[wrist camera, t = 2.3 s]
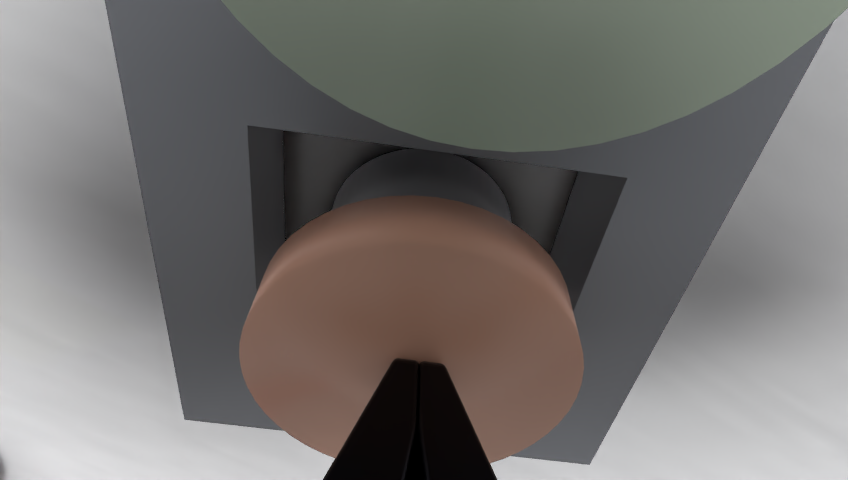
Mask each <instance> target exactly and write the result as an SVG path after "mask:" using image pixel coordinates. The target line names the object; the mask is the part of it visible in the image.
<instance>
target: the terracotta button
mask: <svg viewBox="0 0 848 480" xmlns="http://www.w3.org/2000/svg"><path fill="white" fill-rule="evenodd" d="M396 358H401V359H409V360H416V361H417V362H418V363H419V364H420V363H421V362H423V361H426V362H434V363H441V364H443V365H445V367H446V368H447V370H448V372H449V375H450V377H451V379H452V381H453V383H454V386H455V388H456V390H457V392H458V394H459V397H460V399H461V401H462V403H463V405H464V408H465V410H466V412H467V414H468V416H469V419H470V421H471V423H472V425H473V428H474V430H475V432H476V434H477V436H478V439H479V441H480V443H481V445H482V447H483V450H484V452H485V454H486V456H487V458H488V461H489V463H492V462H495V461H498V460H501V459H504V458H506V457H508V456H511V455H513V454H515V453H518V452H520V451H522V450H523V449H525V448H527V447H529V446H531V445H532V444H534V443H535V442H537V441H538V440H540V439H541V438H542V437H544V436H545V435H547V434H548V433H549V432H550V431H551V430H552V429H553V428H554V427H555V426H557V425H558V424H559V423H560V421H561V420H562V419H563V418H564V416H565V415H566V414H567V413H568V412H569V410H570V408H571V407H572V405H573V403H574V401H575V400H576V398H577V395H578V392H579V390H580V387H581V384H582V378H583V372H584V358H583V350H582V346H581V342H580V338H579V334H578V329H577V325H576V321H575V317H574V313H573V309H572V305H571V301H570V297H569V293H568V289H567V285H566V283H565V280H564V278H563V276H562V274H561V272H560V270H559V268H558V267H557V265H556V264H555V262H554V261H553V259H552V258H551V256H550V255H549V254H548V253H547V252H546V251H545V249H544V248H543V247H542V246H541V245H540V244H539V243H538V242H537V241H536V240H535V239H533V238H532V237H531V236H530V235H528V234H527V233H526V232H525V231H523V230H522V229H521V228H519V227H518V226H516V225H514V224H513V223H512V222H511V215H510V210H509V207H508V203H507V201H506V199H505V196H504V194H503V192H502V191H501V189H500V188H499V186H498V185H497V184H496V182H495V181H494V180H493V179H492V178H491V177H490V176H489V175H488V174H487V173H486V172H484V171H483V170H482V169H481V168H479V167H478V166H476V165H475V164H473V163H471V162H470V161H468V160H466V159H463V158H461V157H459V156H456V155H453V154H450V153H444V152H437V151H430V150H423V149H406V150H400V151H394V152H391V153H387V154H384V155H381V156H379V157H377V158H374V159H372V160H370V161H369V162H367V163H365V164H364V165H362V166H361V167H359V168H358V169H357V170H356V171H354V172H353V173H352V174H351V175H350V176H349V177H348V178H347V179H346V181H345V182H344V184H343V185H342V186H341V188H340V189H339V191H338V194H337V196H336V198H335V201H334V204H333V207H332V210H331V211H329V212H326V213H324V214H322V215H320V216H319V217H317V218H315V219H313V220H312V221H310V222H308V223H306V224H305V225H304V226H302V227H301V228H300V229H299V230H297V231H296V232H295V233H293V234H292V235H291V236H290V237H289V238H288V239H287V240H286V241H285V242H284V243H283V244H282V245H281V247H280V248H279V249H278V250H277V252H276V253H275V255H274V256H273V258H272V259H271V261H270V262H269V264H268V267H267V269H266V271H265V274H264V276H263V278H262V281H261V283H260V286H259V288H258V291H257V293H256V296H255V298H254V301H253V303H252V306H251V308H250V311H249V313H248V316H247V319H246V321H245V324H244V326H243V329H242V334H241V339H240V344H239V359H240V365H241V370H242V374H243V377H244V380H245V382H246V385H247V387H248V389H249V391H250V393H251V394H252V396H253V398H254V400H255V401H256V402H257V404H258V405H259V406H260V407H261V409H262V410H263V411H264V413H265V414H266V415H267V416H268V417H269V418H270V419H271V420H272V421H274V422H275V423H276V424H277V425H278V426H279V427H280V428H282V429H283V430H284V431H286V432H287V433H288V434H289V435H291V436H292V437H294V438H296V439H297V440H299V441H300V442H302V443H304V444H305V445H307V446H309V447H311V448H313V449H315V450H317V451H319V452H321V453H324V454H326V455H329V456H331V457H334V458H336V456H337V455H338V453H339V451H340V450H341V448H342V446H343V445H344V443H345V441H346V439H347V438H348V436H349V434H350V433H351V431H352V429H353V427H354V426H355V424H356V422H357V421H358V419H359V417H360V416H361V414H362V412H363V410H364V409H365V407H366V405H367V404H368V402H369V400H370V398H371V397H372V395H373V393H374V392H375V390H376V388H377V387H378V385H379V383H380V381H381V380H382V378H383V376H384V375H385V373H386V371H387V369H388V368H389V366H390V364H391V363H392V361H393V360H394V359H396Z"/></svg>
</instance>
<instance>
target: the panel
mask: <svg viewBox="0 0 848 480" xmlns="http://www.w3.org/2000/svg"><path fill="white" fill-rule="evenodd" d="M105 3H106V9H107V14H108V19H109V24H110V30H111V35H112V40H113V46H114V51H115V56H116V61H117V67H118V72H119V77H120V82H121V88H122V93H123V98H124V103H125V109H126V114H127V119H128V124H129V130H130V135H131V140H132V146H133V151H134V156H135V161H136V167H137V172H138V177H139V182H140V188H141V193H142V198H143V203H144V209H145V214H146V219H147V225H148V230H149V235H150V240H151V246H152V251H153V256H154V261H155V267H156V272H157V277H158V282H159V288H160V293H161V298H162V303H163V309H164V314H165V319H166V325H167V330H168V335H169V340H170V346H171V351H172V356H173V361H174V367H175V372H176V377H177V382H178V388H179V393H180V398H181V404H182V409H183V414H184V419H185V420H193V421H202V422H211V423H220V424H229V425H238V426H247V427H256V428H265V429H274V430H283V429H282V428H280V427H279V426H278V425H277V424H276V423H275V422H274V421H272V420H271V419H270V418H269V417H268V416H267V415H266V414H265V413H264V411H263V410H262V409H261V407H260V406H259V405H258V404H257V402H256V401H255V400H254V398H253V396H252V394H251V393H250V391H249V389H248V387H247V385H246V382H245V380H244V377H243V374H242V370H241V365H240V359H239V344H240V339H241V334H242V329H243V326H244V324H245V321H246V319H247V316H248V313H249V311H250V308H251V306H252V303H253V301H254V298H255V296H256V293H257V291H258V288H259V286H260V283H261V281H262V278H263V276H264V274H265V271H266V269H267V267H268V264H269V262H270V261H271V259H272V258H273V256H274V255H275V253H276V252H277V250H278V249H279V248H280V247H281V245H282V244H283V243H284V242H285V224H284V149H283V130H285V131H292V132H300V133H307V134H314V135H321V136H329V137H336V138H343V139H350V140H358V141H365V142H372V143H379V144H386V145H394V146H401V147H408V148H415V149H423V150H430V151H437V152H444V153H451V154H459V155H466V156H473V157H480V158H488V159H495V160H502V161H509V162H517V163H524V164H531V165H538V166H545V167H553V168H560V169H567V170H574V171H578V174H577V177H576V180H575V183H574V186H573V189H572V192H571V195H570V197H569V200H568V203H567V206H566V209H565V212H564V215H563V218H562V221H561V224H560V227H559V230H558V233H557V235H556V238H555V241H554V244H553V247H552V250H551V253H550V256H551V258H552V259H553V261H554V262H555V264H556V265H557V267H558V268H559V270H560V272H561V274H562V276H563V278H564V280H565V283H566V285H567V289H568V293H569V297H570V301H571V305H572V309H573V313H574V317H575V321H576V325H577V329H578V334H579V338H580V342H581V346H582V350H583V358H584V372H583V378H582V384H581V387H580V390H579V392H578V395H577V398H576V400H575V401H574V403H573V405H572V407H571V408H570V410H569V412H568V413H567V414H566V415H565V416H564V418H563V419H562V420H561V421H560V423H559V424H558V425H557V426H555V427H554V428H553V429H552V430H551V431H550V432H549V433H548V434H547V435H545V436H544V437H542V438H541V439H540V440H538V441H537V442H535V443H534V444H532V445H531V446H529V447H527V448H525V449H523V450H522V451H520V452H518V453H515V454H513V455H511V456H516V457H525V458H534V459H543V460H552V461H561V462H570V463H579V464H588V465H590V463H591V461H592V459H593V457H594V455H595V454H596V452H597V450H598V448H599V446H600V445H601V443H602V441H603V439H604V437H605V436H606V434H607V432H608V430H609V428H610V426H611V425H612V423H613V421H614V419H615V417H616V416H617V414H618V412H619V410H620V408H621V406H622V405H623V403H624V401H625V399H626V397H627V396H628V394H629V392H630V390H631V388H632V386H633V385H634V383H635V381H636V379H637V377H638V376H639V374H640V372H641V370H642V368H643V366H644V365H645V363H646V361H647V359H648V357H649V356H650V354H651V352H652V350H653V348H654V346H655V345H656V343H657V341H658V339H659V337H660V336H661V334H662V332H663V330H664V328H665V326H666V325H667V323H668V321H669V319H670V317H671V316H672V314H673V312H674V310H675V308H676V307H677V305H678V303H679V301H680V299H681V297H682V296H683V294H684V292H685V290H686V288H687V287H688V285H689V283H690V281H691V279H692V277H693V276H694V274H695V272H696V270H697V268H698V267H699V265H700V263H701V261H702V259H703V257H704V256H705V254H706V252H707V250H708V248H709V247H710V245H711V243H712V241H713V239H714V237H715V236H716V234H717V232H718V230H719V228H720V227H721V225H722V223H723V221H724V219H725V217H726V216H727V214H728V212H729V210H730V208H731V207H732V205H733V203H734V201H735V199H736V197H737V196H738V194H739V192H740V190H741V188H742V187H743V185H744V183H745V181H746V179H747V178H748V176H749V174H750V172H751V170H752V168H753V167H754V165H755V163H756V161H757V159H758V158H759V156H760V154H761V152H762V150H763V148H764V147H765V145H766V143H767V141H768V139H769V138H770V136H771V134H772V132H773V130H774V128H775V127H776V125H777V123H778V121H779V119H780V118H781V116H782V114H783V112H784V110H785V108H786V107H787V105H788V103H789V101H790V99H791V98H792V96H793V94H794V92H795V90H796V88H797V87H798V85H799V83H800V81H801V79H802V78H803V76H804V74H805V72H806V70H807V68H808V67H809V65H810V63H811V61H812V59H813V58H814V56H815V54H816V52H817V50H818V49H819V47H820V45H821V43H822V41H823V39H824V38H825V36H826V34H827V32H828V30H829V29H830V27H831V25H832V23H833V22H832V23H831V24H830V25H828V26H827V27H826V28H825V29H824V30H822V31H821V32H820V33H818V34H817V35H816V36H815V37H813V38H812V39H811V40H809V41H808V42H807V43H805V44H804V45H803V46H802V47H800V48H799V49H798V50H796V51H795V52H794V53H792V54H791V55H790V56H788V57H787V58H786V59H785V60H783V61H782V62H781V63H779V64H778V65H776V66H775V67H773V68H771V69H770V70H768V71H767V72H765V73H763V74H762V75H760V76H759V77H757V78H755V79H754V80H752V81H751V82H749V83H747V84H746V85H744V86H743V87H741V88H740V89H738V90H736V91H735V92H733V93H731V94H729V95H727V96H725V97H723V98H721V99H719V100H717V101H715V102H713V103H711V104H709V105H707V106H705V107H703V108H701V109H699V110H697V111H695V112H693V113H691V114H689V115H687V116H685V117H682V118H679V119H677V120H674V121H671V122H669V123H666V124H664V125H661V126H658V127H656V128H653V129H651V130H648V131H645V132H642V133H639V134H635V135H631V136H627V137H624V138H620V139H616V140H612V141H609V142H605V143H601V144H596V145H589V146H583V147H576V148H570V149H563V150H556V151H531V152H505V151H492V150H480V149H470V148H465V147H460V146H455V145H450V144H445V143H440V142H435V141H430V140H427V139H424V138H421V137H418V136H415V135H412V134H409V133H406V132H403V131H399V130H396V129H393V128H390V127H388V126H386V125H384V124H382V123H379V122H377V121H375V120H373V119H371V118H369V117H366V116H364V115H362V114H360V113H358V112H356V111H354V110H351V109H349V108H348V107H346V106H345V105H343V104H341V103H340V102H338V101H337V100H335V99H333V98H332V97H330V96H328V95H327V94H325V93H324V92H322V91H320V90H319V89H317V88H315V87H314V86H312V85H311V84H309V83H308V82H307V81H306V80H304V79H303V78H302V77H301V76H299V75H298V74H297V73H295V72H294V71H293V70H292V69H290V68H289V67H288V66H287V65H285V64H284V63H283V62H281V61H280V60H279V59H278V58H276V57H275V56H274V55H273V54H272V53H271V52H270V51H269V50H268V49H267V48H266V47H265V46H264V45H262V44H261V43H260V42H259V41H258V40H257V39H256V38H255V37H254V36H253V35H252V34H251V33H250V32H249V31H248V30H247V29H246V28H245V27H244V26H243V25H242V24H241V23H240V22H239V21H238V20H237V19H236V18H235V17H234V15H233V14H232V13H231V12H230V10H229V9H228V8H227V7H226V6H225V4H224V3H223V2H222V1H221V0H105ZM283 431H284V430H283Z"/></svg>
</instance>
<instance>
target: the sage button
mask: <svg viewBox="0 0 848 480" xmlns="http://www.w3.org/2000/svg"><path fill="white" fill-rule="evenodd" d="M221 1H222V2H223V3H224V4H225V6H226V7H227V8H228V9H229V10H230V12H231V13H232V14H233V15H234V17H235V18H236V19H237V20H238V21H239V22H240V23H241V24H242V25H243V26H244V27H245V28H246V29H247V30H248V31H249V32H250V33H251V34H252V35H253V36H254V37H255V38H256V39H257V40H258V41H259V42H260V43H261V44H262V45H264V46H265V47H266V48H267V49H268V50H269V51H270V52H271V53H272V54H273V55H274V56H275V57H276V58H278V59H279V60H280V61H281V62H283V63H284V64H285V65H287V66H288V67H289V68H290V69H292V70H293V71H294V72H295V73H297V74H298V75H299V76H301V77H302V78H303V79H304V80H306V81H307V82H308V83H309V84H311V85H312V86H314V87H315V88H317V89H319V90H320V91H322V92H324V93H325V94H327V95H328V96H330V97H332V98H333V99H335V100H337V101H338V102H340V103H341V104H343V105H345V106H346V107H348V108H349V109H351V110H354V111H356V112H358V113H360V114H362V115H364V116H366V117H369V118H371V119H373V120H375V121H377V122H379V123H382V124H384V125H386V126H388V127H390V128H393V129H396V130H399V131H403V132H406V133H409V134H412V135H415V136H418V137H421V138H424V139H427V140H430V141H435V142H440V143H445V144H450V145H455V146H460V147H465V148H470V149H480V150H492V151H505V152H531V151H556V150H563V149H570V148H576V147H583V146H589V145H596V144H601V143H605V142H609V141H612V140H616V139H620V138H624V137H627V136H631V135H635V134H639V133H642V132H645V131H648V130H651V129H653V128H656V127H658V126H661V125H664V124H666V123H669V122H671V121H674V120H677V119H679V118H682V117H685V116H687V115H689V114H691V113H693V112H695V111H697V110H699V109H701V108H703V107H705V106H707V105H709V104H711V103H713V102H715V101H717V100H719V99H721V98H723V97H725V96H727V95H729V94H731V93H733V92H735V91H736V90H738V89H740V88H741V87H743V86H744V85H746V84H747V83H749V82H751V81H752V80H754V79H755V78H757V77H759V76H760V75H762V74H763V73H765V72H767V71H768V70H770V69H771V68H773V67H775V66H776V65H778V64H779V63H781V62H782V61H783V60H785V59H786V58H787V57H788V56H790V55H791V54H792V53H794V52H795V51H796V50H798V49H799V48H800V47H802V46H803V45H804V44H805V43H807V42H808V41H809V40H811V39H812V38H813V37H815V36H816V35H817V34H818V33H820V32H821V31H822V30H824V29H825V28H826V27H827V26H828V25H830V24H831V23H832V22H833V21H834V20H835V19H836V18H837V17H838V16H839V15H840V14H842V13H843V12H844V11H845V10H846V9H847V8H848V0H221Z"/></svg>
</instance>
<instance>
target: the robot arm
mask: <svg viewBox="0 0 848 480" xmlns="http://www.w3.org/2000/svg"><path fill="white" fill-rule="evenodd" d="M323 480H497V478H496V476H495V474H494V472H493V469H492V467H491V465H490V463H489V461H488V458H487V456H486V454H485V452H484V450H483V447H482V445H481V443H480V441H479V439H478V436H477V434H476V432H475V430H474V428H473V425H472V423H471V421H470V419H469V416H468V414H467V412H466V410H465V408H464V405H463V403H462V401H461V399H460V397H459V394H458V392H457V390H456V388H455V386H454V383H453V381H452V379H451V377H450V375H449V372H448V370H447V368H446V367H445V365H443V364H441V363H434V362H426V361H423V362H421V363H420V364H419V363H418V362H417V361H416V360H409V359H401V358H396V359H394V360H393V361H392V363H391V364H390V366H389V368H388V369H387V371H386V373H385V375H384V376H383V378H382V380H381V381H380V383H379V385H378V387H377V388H376V390H375V392H374V393H373V395H372V397H371V398H370V400H369V402H368V404H367V405H366V407H365V409H364V410H363V412H362V414H361V416H360V417H359V419H358V421H357V422H356V424H355V426H354V427H353V429H352V431H351V433H350V434H349V436H348V438H347V439H346V441H345V443H344V445H343V446H342V448H341V450H340V451H339V453H338V455H337V456H336V458H335V460H334V462H333V463H332V465H331V467H330V468H329V470H328V472H327V474H326V475H325V477H324V479H323Z"/></svg>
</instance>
